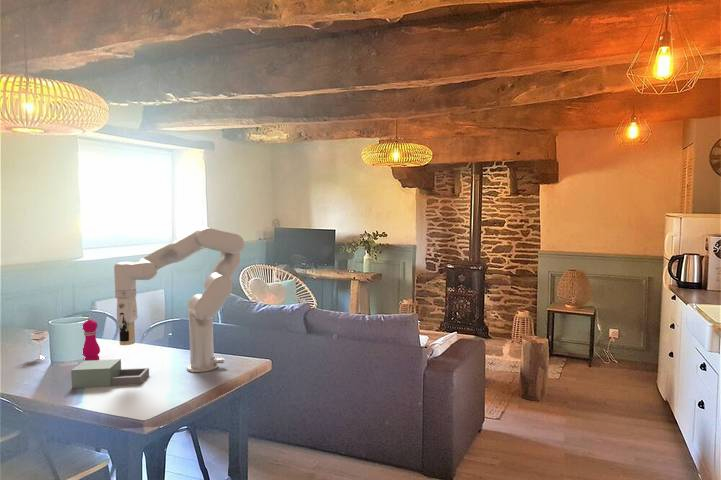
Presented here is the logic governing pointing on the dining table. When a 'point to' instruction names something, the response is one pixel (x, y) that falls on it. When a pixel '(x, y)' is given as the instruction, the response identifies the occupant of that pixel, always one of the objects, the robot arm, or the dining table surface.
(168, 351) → the dining table surface
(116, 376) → the green boxy piece
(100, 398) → the dining table surface
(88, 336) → the pepper mill
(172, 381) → the dining table surface
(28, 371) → the dining table surface
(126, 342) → the candle
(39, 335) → the wineglass
